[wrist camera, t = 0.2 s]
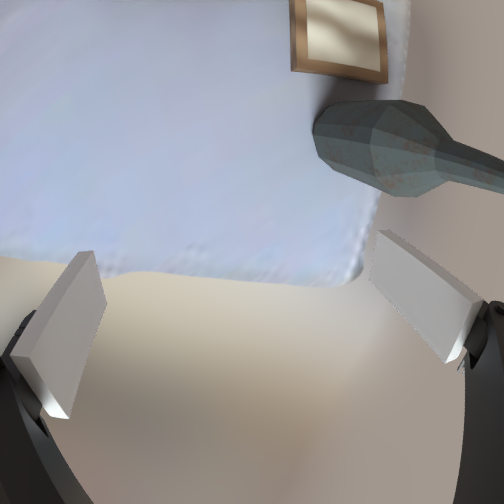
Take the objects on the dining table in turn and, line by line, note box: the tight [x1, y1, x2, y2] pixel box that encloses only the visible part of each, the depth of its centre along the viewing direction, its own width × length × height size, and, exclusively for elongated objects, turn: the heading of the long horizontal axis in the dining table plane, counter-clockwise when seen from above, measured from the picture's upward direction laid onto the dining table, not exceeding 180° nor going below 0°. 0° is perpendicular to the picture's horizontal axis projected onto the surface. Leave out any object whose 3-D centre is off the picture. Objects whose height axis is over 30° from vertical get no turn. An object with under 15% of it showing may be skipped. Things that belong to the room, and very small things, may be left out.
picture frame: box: [289, 0, 388, 84], centre depth 30 cm, size 14×14×3 cm
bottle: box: [313, 100, 504, 197], centre depth 25 cm, size 10×10×30 cm
